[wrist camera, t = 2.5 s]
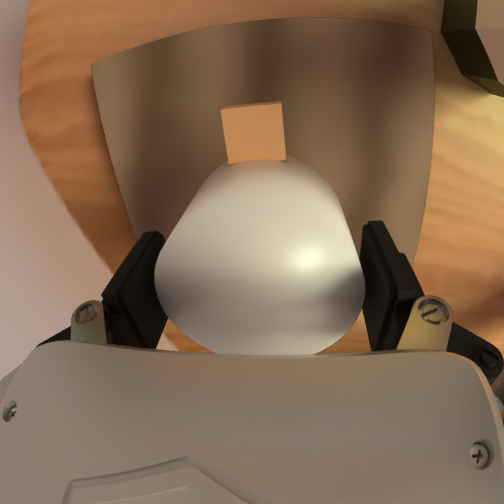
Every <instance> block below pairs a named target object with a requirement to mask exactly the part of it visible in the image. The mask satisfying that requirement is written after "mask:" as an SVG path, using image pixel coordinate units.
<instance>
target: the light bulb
mask: <svg viewBox="0 0 504 504" xmlns="http://www.w3.org/2000/svg"><path fill="white" fill-rule="evenodd" d="M221 116H222V123H223V130H224V136H225V143H226V149H227V156H228V162H226V163H225V164H223V165H221V166H220V167H219V168H217V169H216V170H215V171H214V172H213V173H211V175H210V176H209V177H208V178H207V179H206V180H205V182H204V183H203V185H202V186H201V188H200V189H199V191H198V192H197V194H196V195H195V197H194V198H193V200H192V201H191V203H190V204H189V206H188V207H187V209H186V211H185V212H184V214H183V215H182V217H181V218H180V220H179V222H178V223H177V225H176V226H175V228H174V230H173V231H172V233H171V234H170V236H169V238H168V239H167V241H166V243H165V244H164V246H163V248H162V250H161V251H160V253H159V256H158V259H157V262H156V266H155V273H154V279H155V288H156V293H157V296H158V299H159V302H160V304H161V306H162V308H163V310H164V312H165V313H166V315H167V316H168V318H169V319H170V320H171V321H172V323H173V324H174V325H175V326H176V327H177V328H178V329H179V330H180V331H181V332H182V333H183V334H185V335H186V336H187V337H189V338H190V339H191V340H193V341H194V342H196V343H197V344H199V345H201V346H202V347H204V348H206V349H209V350H211V351H213V352H215V353H218V354H238V355H311V354H315V353H317V352H320V351H322V350H323V349H325V348H327V347H329V346H331V345H332V344H333V343H335V342H336V341H338V340H339V339H340V338H341V337H342V336H344V335H345V334H346V333H347V331H348V330H349V329H350V328H351V327H352V326H353V324H354V323H355V321H356V320H357V318H358V316H359V314H360V312H361V309H362V306H363V302H364V297H365V280H364V275H363V272H362V268H361V265H360V261H359V258H358V255H357V252H356V249H355V245H354V242H353V239H352V236H351V233H350V230H349V227H348V225H347V222H346V219H345V216H344V213H343V210H342V208H341V205H340V202H339V199H338V197H337V195H336V193H335V191H334V189H333V187H332V186H331V185H330V183H329V182H328V181H327V179H326V178H325V177H324V176H323V175H322V174H321V173H320V172H318V171H317V170H316V169H315V168H313V167H312V166H310V165H309V164H307V163H305V162H303V161H301V160H299V159H296V158H294V157H291V156H287V155H286V147H285V136H284V124H283V114H282V104H281V101H278V102H265V103H254V104H244V105H235V106H227V107H224V108H223V109H221Z"/></svg>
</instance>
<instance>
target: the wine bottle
mask: <svg viewBox="0 0 504 504" xmlns="http://www.w3.org/2000/svg"><path fill="white" fill-rule="evenodd" d="M441 34H442V35H443V37H444V39H445V41H446V43H447V45H448V47H449V49H450V50H451V52H452V54H453V56H454V59H455V61H456V63H457V65H458V67H459V69H460V71H461V74H462V75H464V76H465V77H467V78H469V79H470V80H472V81H474V82H475V83H477V84H478V85H480V86H482V87H483V88H485V89H486V90H488V91H489V92H491V93H492V94H494V95H497V96H501V97H504V0H445V2H444V11H443V19H442V26H441Z"/></svg>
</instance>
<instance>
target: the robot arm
mask: <svg viewBox="0 0 504 504" xmlns="http://www.w3.org/2000/svg"><path fill="white" fill-rule="evenodd" d="M165 243H166V242H165V239H164V236H163V235H162V234H160V233H159V232H158V231H148V232H144V233H143V234H142V236H141V237H140V239H139V240H138V241H137V243H136V244H135V245H134V247H133V248H132V250H131V251H130V253H129V254H128V255H127V257H126V258H125V260H124V261H123V263H122V264H121V265H120V267H119V268H118V270H117V271H116V273H115V274H114V276H113V277H112V279H111V281H110V282H109V283H108V285H107V286H106V288H105V290H104V291H103V293H102V294H101V296H102V297H103V300H102V302H100V301H96V300H91V301H87V302H85V303H83V304H81V305H80V306H79V307H78V308H77V309H76V310H75V311H74V313H73V314H72V318H71V326H70V327H68V328H67V329H65V330H63V331H61V332H60V333H58V334H56V335H54V336H52V337H50V338H49V339H47V340H45V341H44V342H42V343H40V344H39V345H38V346H37V347H36V348H35V349H34V350H33V351H32V352H31V353H30V354H29V355H28V356H27V358H26V359H25V361H24V362H23V363H22V364H21V365H20V366H18V367H17V368H16V369H14V370H13V371H12V372H11V373H9V374H8V375H6V376H5V377H4V378H3V379H2V380H1V381H0V504H504V360H503V356H502V354H501V352H500V351H499V350H498V348H496V347H495V346H494V345H492V344H491V343H489V342H487V341H485V340H484V339H482V338H480V337H479V336H477V335H475V334H473V333H472V332H470V331H468V330H466V329H464V328H463V327H461V326H459V325H457V324H456V323H454V322H453V311H452V308H451V307H450V305H449V304H448V303H447V302H446V301H444V300H443V299H441V298H439V297H436V296H425V295H424V293H423V290H422V288H421V286H420V284H419V282H418V280H417V277H416V275H415V273H414V271H413V269H412V267H411V265H410V263H409V261H408V259H407V257H406V255H405V254H404V253H399V251H398V249H397V247H396V245H395V243H394V241H393V239H392V237H391V235H390V233H389V232H388V230H387V228H386V226H385V224H384V222H383V221H382V220H378V221H368V223H367V224H364V225H363V228H362V239H361V248H360V257H359V261H360V265H361V268H362V272H363V275H364V280H365V297H364V302H363V306H362V310H363V314H364V319H365V323H366V328H367V333H368V337H369V342H370V347H371V352H355V353H335V354H311V355H238V354H213V353H196V352H182V351H169V350H158V349H156V347H157V345H158V342H159V339H160V337H161V334H162V332H163V329H164V327H165V324H166V322H167V319H168V316H167V315H166V313H165V312H164V310H163V308H162V306H161V304H160V302H159V299H158V296H157V293H156V288H155V279H154V273H155V266H156V262H157V259H158V256H159V253H160V251H161V250H162V248H163V246H164V244H165Z"/></svg>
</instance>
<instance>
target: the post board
mask: <svg viewBox="0 0 504 504" xmlns="http://www.w3.org/2000/svg"><path fill="white" fill-rule="evenodd" d="M91 70H92V76H93V82H94V87H95V92H96V98H97V102H98V107H99V112H100V116H101V121H102V125H103V129H104V134H105V138H106V142H107V146H108V150H109V153H110V157H111V161H112V164H113V168H114V172H115V175H116V178H117V182H118V185H119V189H120V192H121V195H122V198H123V201H124V205H125V208H126V211H127V214H128V217H129V220H130V223H131V226H132V229H133V231H134V234H135V237H136V240H137V241H138V240H139V239H140V237H141V236H142V234H143V233H144V232H148V231H158V232H159V233H160V234H162V235H163V236H164V239H165V242H166V241H167V239H168V238H169V236H170V234H171V233H172V231H173V230H174V228H175V226H176V225H177V223H178V222H179V220H180V218H181V217H182V215H183V214H184V212H185V211H186V209H187V207H188V206H189V204H190V203H191V201H192V200H193V198H194V197H195V195H196V194H197V192H198V191H199V189H200V188H201V186H202V185H203V183H204V182H205V180H206V179H207V178H208V177H209V176H210V175H211V173H213V172H214V171H215V170H216V169H217V168H219V167H220V166H221V165H223V164H225V163H226V162H228V156H227V149H226V143H225V136H224V130H223V123H222V116H221V109H223V108H224V107H227V106H235V105H244V104H254V103H265V102H278V101H281V104H282V114H283V124H284V136H285V147H286V155H287V156H291V157H294V158H296V159H299V160H301V161H303V162H305V163H307V164H309V165H310V166H312V167H313V168H315V169H316V170H317V171H318V172H320V173H321V174H322V175H323V176H324V177H325V178H326V179H327V181H328V182H329V183H330V185H331V186H332V187H333V189H334V191H335V193H336V195H337V197H338V199H339V202H340V205H341V208H342V210H343V213H344V216H345V219H346V222H347V225H348V227H349V230H350V233H351V236H352V239H353V242H354V245H355V249H356V252H357V255H358V258H359V257H360V248H361V239H362V228H363V225H364V224H367V223H368V221H378V220H382V221H383V222H384V224H385V226H386V228H387V230H388V232H389V233H390V235H391V237H392V239H393V241H394V243H395V245H396V247H397V249H398V251H399V253H404V254H405V255H406V257H407V259H408V261H409V263H410V265H411V267H413V263H414V259H415V255H416V251H417V246H418V242H419V237H420V232H421V227H422V222H423V216H424V211H425V205H426V198H427V191H428V184H429V176H430V168H431V158H432V146H433V131H434V61H433V47H432V36H431V30H426V29H422V28H417V27H412V26H406V25H401V24H394V23H388V22H380V21H371V20H361V19H348V18H320V17H309V18H281V19H267V20H257V21H248V22H240V23H233V24H227V25H221V26H215V27H210V28H205V29H200V30H195V31H191V32H186V33H182V34H178V35H174V36H170V37H167V38H163V39H160V40H156V41H153V42H150V43H146V44H143V45H140V46H137V47H134V48H131V49H129V50H126V51H123V52H120V53H118V54H115V55H112V56H110V57H107V58H105V59H102V60H100V61H98V62H95V63H93V64H91Z"/></svg>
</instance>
